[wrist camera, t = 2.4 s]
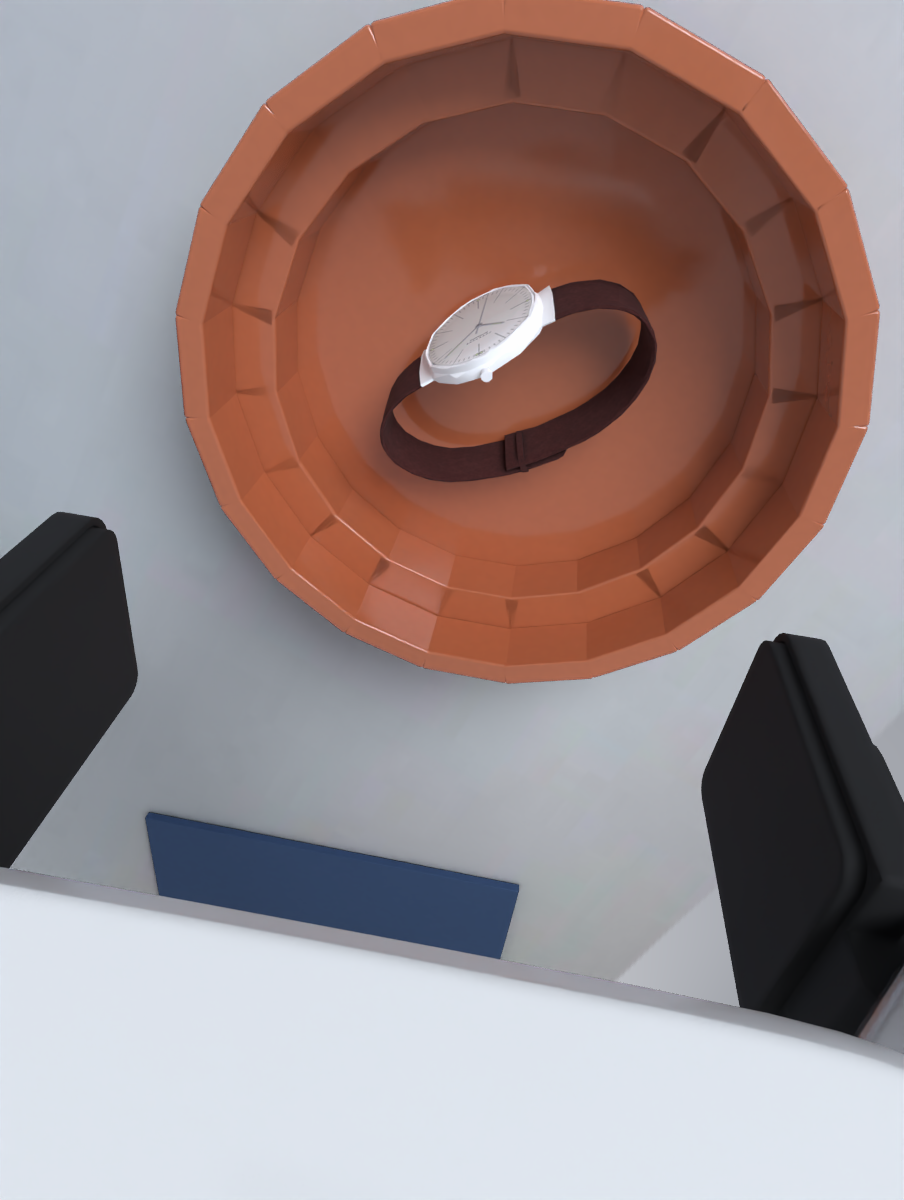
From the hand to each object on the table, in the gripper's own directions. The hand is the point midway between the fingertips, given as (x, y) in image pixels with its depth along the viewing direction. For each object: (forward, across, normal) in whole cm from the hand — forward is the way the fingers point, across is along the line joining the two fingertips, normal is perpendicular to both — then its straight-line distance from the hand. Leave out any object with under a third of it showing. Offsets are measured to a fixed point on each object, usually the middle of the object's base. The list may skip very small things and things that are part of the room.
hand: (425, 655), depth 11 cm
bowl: (+14, -1, 0) cm, 14 cm away
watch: (+13, -1, 0) cm, 13 cm away
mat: (+14, +4, +31) cm, 34 cm away
